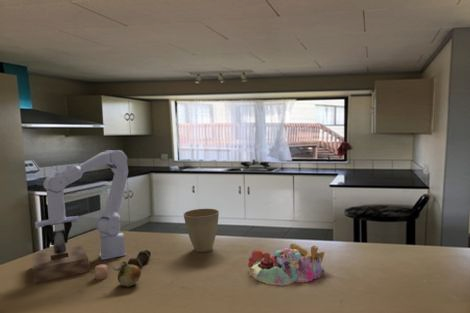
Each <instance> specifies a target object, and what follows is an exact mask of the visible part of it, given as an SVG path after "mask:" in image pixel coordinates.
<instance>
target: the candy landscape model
mask: <svg viewBox="0 0 470 313" xmlns="http://www.w3.org/2000/svg"><path fill="white" fill-rule="evenodd" d="M318 250H319V247H318V246H316V245H312V246H311V247H310V251H308V250H307V249H305V248H303V247H302V246H300V245H299V244H297V243H295V242H293V243H291V244H290V245H289V246H287V247H285V248H283V249H279V250H276V251H275V252H274V253H273V255H272V256H271V254H270V252H268V251H264V252H263V251H262V250H261V249H257V248H256V249H253V251H252V252H251V256H249V258H248V263H247V266H248V274H249V275H250V277H252V278H254V279H255V280H256V281H258V282H260V283H264V284H267V285H270V286H271V285H272V286H281V287H283V286H290V285H292V284H293V283H297V282H298V283H311V282H313V280H315V279H320V278H321V275H322V273H323V272H324V270H325V269H324V267H323V266H322V262H323V259H324V256H325V251H321V252H318ZM257 262H258V263H257Z"/></svg>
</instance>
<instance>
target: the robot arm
mask: <svg viewBox="0 0 470 313" xmlns="http://www.w3.org/2000/svg"><path fill="white" fill-rule="evenodd" d="M100 165H106V166H107V167H108V168H110V170H111V171H112V173H114V174H113V178H112V182H111V186H110V188H109V193H108V197H107V202H106V205H105V209H104V211H103V212H102V213H101V214H100V218H99V219H98V220H97V222H96V225H95V226H96V229H97V230H96V231H98V232H99V245H100V253H98V255H99V258H100V259H101V260H102V261H105V260H109V259H114V258H119V257H123V256H127V253H126V243H125V242H126V241H125V235H124V233H123V232H120V230H121V216H120V214H119V212H120V208H121V205H122V201H123V195H124V191H125V187H126V184H127V180H128V175H129V167H128V166H129V165H128V156H127V154H126V153H125V152H124V151H123V150H120V149H115V150H110V149H107V150H104V151H102V152H99V153H98V154H96V155H94V156H92V157H91V158H89V159H87V160H86V161H84V162H83V163H81V164H79V165H77V164H69V165H66V168H65V169H63V170H61V171H56V172H55V173H54V175H49V176H47V177H45V179H44V182H43V184H42V186H43V188H44V189H45V190H46V202H47V203H46V204H47V215H48V219H45V220H41V221H40V220H39V221H35V222H34V223H35V229H39V228H43V229H44V232H45V233H46V234H47V236H48V238H49V240H50V243H51V246H54V242H53V228H52V226H57V225H58V226H59V225H63V227H64V229H63V230H64V231H65V244H68V242H69V241H68V239H69V235H70V232H71V229H72V226H73V223H79V222H80V217H79V215H75V216H74V215H73V216H66V204H65V195H64V189H65V188H66V187H67V186H69V185H70V184H73V183H75V182H76V181H77V180H80V179H81V178H82V177H83V174H84V173H85V172H88V171H90V170H92V169H93V168H95V167H98V166H100Z"/></svg>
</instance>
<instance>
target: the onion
mask: <svg viewBox="0 0 470 313" xmlns="http://www.w3.org/2000/svg"><path fill="white" fill-rule="evenodd" d="M127 263H128V261H122V262H121V263H119V266H118V267H117V266H112V270H113V271H115V272H117V278H116V279H117V281H118V283H119V284H120V285H121V286H122V287H129V288H130V287H131V286H133V285H135V284H137V283H138V282H139V281H140V280H139V279H140V277H141V276H142V272H141V269H139V267H137V266H135V265H129V264H127Z"/></svg>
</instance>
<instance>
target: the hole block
mask: <svg viewBox="0 0 470 313" xmlns="http://www.w3.org/2000/svg"><path fill="white" fill-rule="evenodd" d="M89 268H90V265H89V258H88V254H87V253H86V250H85V248H84V246H83V245H78V246H71V247H66V252H64V253H61V254H55V253H54V250H51V251H50V250H49V251H44V252H39V253H33V254H32V278H33V284H37V283H42V282H46V281H50V280H55V279H60V278H64V277H68V276H73V275H77V274H83V273H88V272H90V269H89Z"/></svg>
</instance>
